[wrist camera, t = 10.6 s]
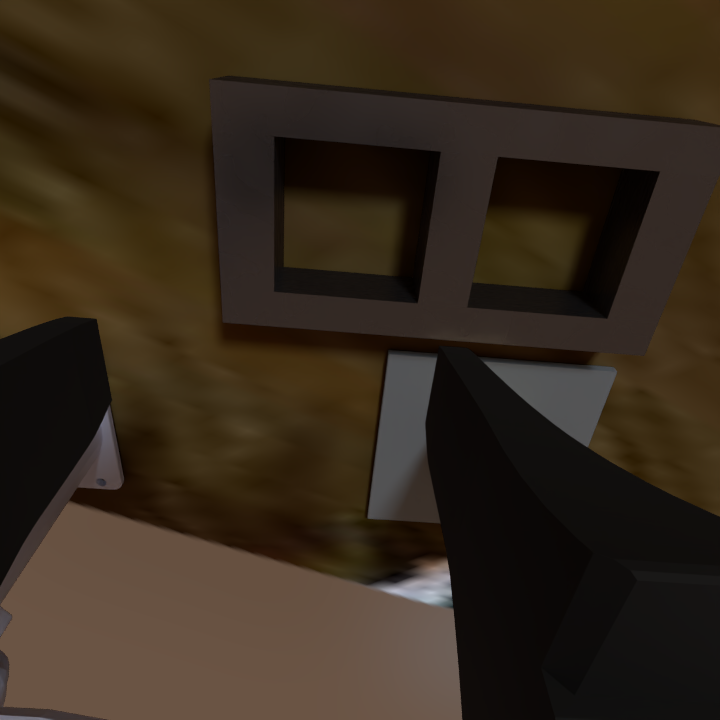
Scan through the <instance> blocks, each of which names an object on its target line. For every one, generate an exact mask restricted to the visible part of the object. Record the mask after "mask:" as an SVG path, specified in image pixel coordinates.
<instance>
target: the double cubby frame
mask: <svg viewBox="0 0 720 720" xmlns="http://www.w3.org/2000/svg"><path fill="white" fill-rule="evenodd" d="M209 81H210V99H211V117H212V135H213V153H214V172H215V190H216V208H217V226H218V244H219V262H220V281H221V299H222V317H223V323H235V324H248V325H260V326H273V327H286V328H298V329H311V330H324V331H337V332H349V333H362V334H375V335H387V336H400V337H413V338H425V339H438V340H451V341H464V342H476V343H489V344H502V345H514V346H527V347H540V348H552V349H565V350H578V351H591V352H603V353H616V354H629V355H641V356H644V355H645V353H646V351H647V348H648V346H649V343H650V341H651V339H652V336H653V334H654V331H655V329H656V326H657V324H658V322H659V319H660V317H661V314H662V312H663V310H664V307H665V305H666V302H667V300H668V298H669V295H670V293H671V290H672V288H673V286H674V283H675V281H676V278H677V276H678V274H679V271H680V269H681V266H682V264H683V261H684V259H685V257H686V254H687V252H688V249H689V247H690V245H691V242H692V240H693V237H694V235H695V233H696V230H697V228H698V225H699V223H700V221H701V218H702V216H703V213H704V211H705V209H706V206H707V204H708V201H709V199H710V197H711V194H712V192H713V189H714V187H715V184H716V182H717V180H718V177H719V175H720V125H716V124H712V123H707V122H702V121H698V120H692V119H681V118H670V117H660V116H649V115H639V114H628V113H618V112H607V111H596V110H586V109H575V108H565V107H554V106H544V105H533V104H522V103H512V102H501V101H491V100H480V99H470V98H459V97H449V96H438V95H427V94H417V93H406V92H396V91H385V90H375V89H364V88H353V87H343V86H332V85H322V84H311V83H301V82H290V81H279V80H269V79H258V78H248V77H237V76H224V77H219V78H214V79H209ZM285 137H287V138H298V139H309V140H320V141H331V142H342V143H353V144H364V145H375V146H386V147H397V148H408V149H419V150H430V151H431V153H430V160H429V167H428V174H427V181H426V188H425V195H424V202H423V209H422V216H421V223H420V230H419V237H418V244H417V251H416V258H415V265H414V272H413V278H410V277H398V276H386V275H374V274H361V273H349V272H337V271H325V270H313V269H301V268H289V267H284V168H285ZM498 157H507V158H518V159H529V160H540V161H551V162H562V163H573V164H584V165H595V166H606V167H617V168H623V170H622V173H621V176H620V179H619V182H618V186H617V189H616V192H615V195H614V198H613V201H612V204H611V207H610V210H609V213H608V216H607V220H606V223H605V226H604V229H603V232H602V235H601V238H600V241H599V244H598V247H597V250H596V254H595V257H594V260H593V263H592V266H591V269H590V272H589V275H588V278H587V281H586V284H585V288H584V291H583V292H579V291H567V290H555V289H543V288H531V287H519V286H507V285H495V284H482V283H472V281H473V276H474V271H475V267H476V262H477V257H478V252H479V247H480V242H481V237H482V232H483V228H484V223H485V218H486V213H487V208H488V203H489V198H490V194H491V189H492V184H493V179H494V174H495V169H496V164H497V160H498Z"/></svg>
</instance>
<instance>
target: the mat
mask: <svg viewBox="0 0 720 720" xmlns="http://www.w3.org/2000/svg"><path fill="white" fill-rule="evenodd" d="M437 355H438V354H437V353H424V352H411V351H398V350H388V358H387V365H386V373H385V381H384V389H383V397H382V404H381V412H380V420H379V428H378V436H377V444H376V451H375V459H374V467H373V475H372V483H371V491H370V498H369V506H368V519H383V520H398V521H413V522H428V523H440V519H439V514H438V509H437V504H436V500H435V495H434V490H433V485H432V480H431V476H430V471H429V466H428V459H427V446H426V430H425V420H426V415H427V409H428V404H429V399H430V393H431V388H432V382H433V377H434V371H435V366H436V360H437ZM479 358H480V359H481V360H482V361H483V362H484V363H485V364H486V365H487V366H488V367H489V368H490V369H491V370H492V371H493V372H494V373H495V374H496V375H497V376H499V377H500V378H501V379H502V380H503V381H504V382H505V383H506V384H507V385H508V386H509V387H510V388H511V389H513V390H514V391H515V392H516V393H517V394H518V395H519V396H520V397H522V398H523V399H524V400H525V401H526V402H527V403H529V404H530V405H531V406H532V407H533V408H534V409H536V410H537V411H538V412H539V413H541V414H542V415H543V416H544V417H546V418H547V419H548V420H550V421H551V422H552V423H553V424H555V425H556V426H557V427H559V428H560V429H561V430H563V431H564V432H565V433H567V434H568V435H570V436H571V437H573V438H574V439H576V440H577V441H579V442H580V443H582V444H583V445H585V446H586V447H588V445H589V443H590V440H591V437H592V435H593V432H594V430H595V427H596V425H597V422H598V420H599V417H600V414H601V412H602V409H603V407H604V404H605V402H606V399H607V397H608V394H609V392H610V389H611V386H612V384H613V381H614V379H615V376H616V374H617V371H616V370H615V369H614V367H604V366H591V365H578V364H566V363H553V362H540V361H527V360H514V359H501V358H488V357H479Z"/></svg>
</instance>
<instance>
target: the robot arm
mask: <svg viewBox="0 0 720 720" xmlns="http://www.w3.org/2000/svg"><path fill="white" fill-rule="evenodd" d="M111 401H112V398H111V392H110V387H109V382H108V377H107V371H106V366H105V361H104V356H103V350H102V345H101V340H100V335H99V330H98V324H97V319H91V318H78V317H63V318H59V319H55V320H52V321H49V322H46V323H43V324H40V325H37V326H34V327H31V328H29V329H26V330H23V331H21V332H18V333H15V334H13V335H10V336H8V337H5V338H2V339H0V604H1V603H2V601H3V600H4V598H5V597H6V595H7V594H8V592H9V590H10V589H11V587H12V586H13V584H14V583H15V581H16V580H17V578H18V577H19V575H20V574H21V572H22V571H23V569H24V568H25V566H26V565H27V563H28V562H29V560H30V558H31V557H32V555H33V554H34V553H35V551H36V549H37V548H38V547H39V545H40V543H41V542H42V540H43V539H44V537H45V536H46V534H47V533H48V531H49V530H50V528H51V527H52V525H53V524H54V522H55V521H56V519H57V518H58V516H59V515H60V513H61V511H62V510H63V509H64V507H65V506H66V504H67V503H68V501H69V499H70V498H71V496H72V495H73V493H74V492H75V490H76V489H77V487H80V488H95V489H110V490H116V489H119V488H120V487H121V486H122V484H123V482H124V475H123V470H122V465H121V460H120V455H119V450H118V445H117V439H116V434H115V429H114V424H113V419H112V414H111V409H110V403H111ZM425 430H426V446H427V459H428V466H429V471H430V476H431V480H432V485H433V490H434V495H435V500H436V504H437V509H438V514H439V519H440V523H441V528H442V533H443V537H444V542H445V547H446V552H447V558H448V564H449V570H450V579H451V589H452V599H453V608H454V618H455V630H456V641H457V653H458V664H459V678H460V691H461V705H462V719H463V720H720V517H719V516H717V515H714V514H712V513H710V512H708V511H706V510H703V509H701V508H699V507H697V506H695V505H693V504H690V503H688V502H686V501H684V500H682V499H679V498H677V497H675V496H673V495H671V494H669V493H667V492H665V491H663V490H661V489H659V488H657V487H655V486H653V485H651V484H649V483H647V482H645V481H644V480H642V479H640V478H638V477H636V476H635V475H633V474H631V473H629V472H627V471H626V470H624V469H622V468H620V467H618V466H617V465H615V464H613V463H611V462H610V461H608V460H607V459H605V458H603V457H602V456H600V455H598V454H597V453H595V452H594V451H592V450H591V449H589V448H588V447H586V446H585V445H583V444H582V443H580V442H579V441H577V440H576V439H574V438H573V437H571V436H570V435H568V434H567V433H565V432H564V431H563V430H561V429H560V428H559V427H557V426H556V425H555V424H553V423H552V422H551V421H550V420H548V419H547V418H546V417H544V416H543V415H542V414H541V413H539V412H538V411H537V410H536V409H534V408H533V407H532V406H531V405H530V404H529V403H527V402H526V401H525V400H524V399H523V398H522V397H520V396H519V395H518V394H517V393H516V392H515V391H514V390H513V389H511V388H510V387H509V386H508V385H507V384H506V383H505V382H504V381H503V380H502V379H501V378H500V377H499V376H497V375H496V374H495V373H494V372H493V371H492V370H491V369H490V368H489V367H488V366H487V365H486V364H485V363H484V362H483V361H482V360H481V359H480V358H479V357H478V356H476V355H475V354H474V353H473V352H472V351H471V350H470V349H468V348H461V347H449V346H439V350H438V355H437V360H436V366H435V371H434V377H433V382H432V388H431V393H430V399H429V404H428V409H427V415H426V420H425ZM100 478H101V479H100ZM102 479H104V480H105V481H104V480H102ZM11 619H12V615H11V614H10V613H8V612H7V611H6V610H4V609H3V608H2V607H1V606H0V637H1V635H2V634H3V632H4V630H5V629H6V627H7V625H8V624H9V622H10V621H11ZM8 677H9V661H8V657H7V656H6V655H5V654H4V653H3V652H2V651H1V650H0V720H106V719H100V718H94V717H89V716H83V715H78V714H73V713H67V712H62V711H56V710H50V709H33V708H14V707H3V705H4V702H5V697H6V689H7V681H8Z"/></svg>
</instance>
